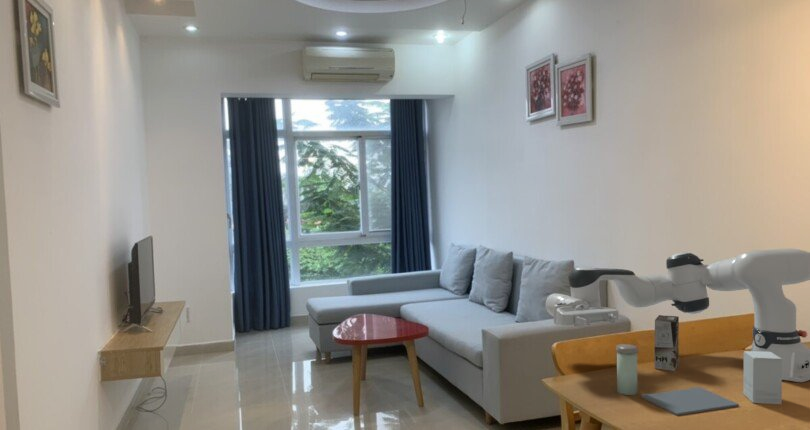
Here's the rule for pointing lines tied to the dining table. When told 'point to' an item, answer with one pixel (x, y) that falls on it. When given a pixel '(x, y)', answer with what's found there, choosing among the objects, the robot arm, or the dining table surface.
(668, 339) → the coffee box
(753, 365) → the supplement box
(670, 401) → the cutting board
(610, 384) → the dining table surface
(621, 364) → the ceramic jar
